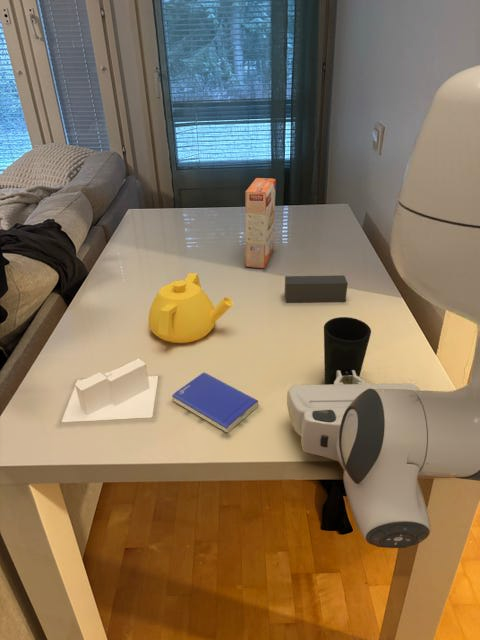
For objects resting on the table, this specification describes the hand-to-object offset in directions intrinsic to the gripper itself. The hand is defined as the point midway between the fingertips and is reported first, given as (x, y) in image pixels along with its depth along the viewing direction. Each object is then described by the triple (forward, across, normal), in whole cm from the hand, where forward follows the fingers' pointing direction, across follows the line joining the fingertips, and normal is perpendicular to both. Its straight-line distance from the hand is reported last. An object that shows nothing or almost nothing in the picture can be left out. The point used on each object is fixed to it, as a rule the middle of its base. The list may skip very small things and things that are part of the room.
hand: (344, 373), depth 77 cm
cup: (+4, -1, +6) cm, 7 cm away
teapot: (+24, +28, +6) cm, 37 cm away
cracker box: (+60, +11, +6) cm, 62 cm away
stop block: (+36, -1, +6) cm, 37 cm away
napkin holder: (+2, +40, +6) cm, 40 cm away
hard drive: (0, +22, +6) cm, 23 cm away
